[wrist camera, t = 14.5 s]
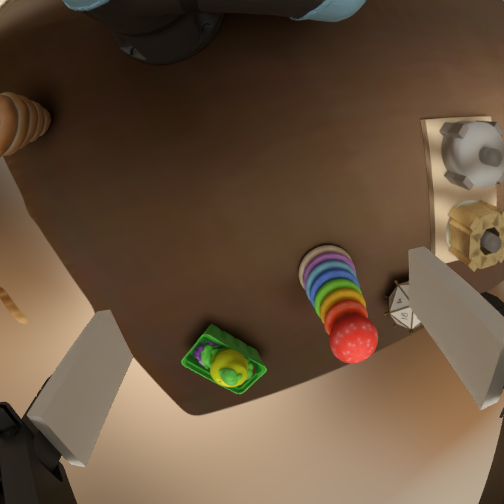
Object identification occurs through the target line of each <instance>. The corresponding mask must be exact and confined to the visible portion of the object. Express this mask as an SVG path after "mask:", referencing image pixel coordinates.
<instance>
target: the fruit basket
mask: <svg viewBox="0 0 504 504" xmlns="http://www.w3.org/2000/svg"><path fill="white" fill-rule="evenodd" d="M182 364H183V365H184V366H185V367H187V368H189V369H190V370H192V371H194V372H196V373H198V374H200V375H201V376H204V377H205V378H207V379H209V380H211V381H213V382H215V383H217V384H219V385H220V386H223V387H224V388H226V389H228V390H230V391H232V392H234V393H236V394H242V393H244V392H245V391H246V390H247V389H248V388H249V387H250V386H251V385H252V384H253V383H254V382H255V381H256V380H258V379H259V378H260V377H261V376H262V375H263V374H264V373H265V372H266V370H267V369H266V367H265V365H264V363H263V362H262V360H261V358H260V356H259V354H258V351H257V350H256V349H254V348H253V347H251V346H247V345H246V344H245V343H244V342H242V341H240V340H239V339H236V338H234V337H233V336H232V335H230V334H228V333H227V332H225V331H221V330H220V328H218V327H217V326H215V325H213V324H211V325H210V326H209V327H208V328H207V330H206V331H205V332H204V333H203V334H202V335H201V337H200V338H199V339H198V341H197V342H196V343H195V344H194V346H193V347H192V348H191V349H190V350H189V352H188V353H187V354H186V355H185V357H184V358H183V359H182Z"/></svg>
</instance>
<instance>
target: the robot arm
mask: <svg viewBox="0 0 504 504" xmlns="http://www.w3.org/2000/svg"><path fill="white" fill-rule="evenodd" d="M62 1H63V2H64V3H65V4H66V6H67V7H68V8H70V9H72V10H76V11H77V10H78V11H80V12H82V13H83V14H85V15H87V16H89V17H91V18H93V19H94V20H96V21H98V22H100V23H101V24H103V25H105V26H107V27H108V28H110V31H111V34H112V37H113V39H114V41H115V43H116V44H117V46H118V47H119V48H120V49H121V50H122V51H123V52H124V53H125V54H127V55H128V56H130V57H132V58H134V59H136V60H138V61H140V62H143V63H147V64H153V65H166V64H172V63H176V62H180V61H183V60H185V59H188V58H190V57H192V56H193V55H195V54H197V53H198V52H200V51H201V50H202V49H204V48H205V47H206V46H207V45H208V44H209V43H210V42H211V41H212V40H213V39H214V37H215V36H216V35H217V33H218V31H219V29H220V28H221V25H222V22H223V19H224V14H225V13H240V14H260V15H273V16H283V17H290V19H292V20H298V21H299V20H305V19H309V20H318V21H326V22H338V21H340V20H343V19H347V18H349V17H350V16H352V15H353V14H354V13H356V12H357V11H358V10H359V9H360V8H361V6H362V5H363V4H364V3H365V1H366V0H62ZM409 307H410V308H411V309H412V311H413V312H414V313H415V315H416V316H417V317H418V319H419V320H420V322H421V323H422V324H423V326H424V327H425V328H426V330H427V331H428V333H429V334H430V335H431V337H432V338H433V339H434V341H435V342H436V344H437V345H438V347H439V348H440V349H441V351H442V352H443V354H444V355H445V356H446V358H447V360H448V361H449V363H450V364H451V365H452V367H453V368H454V370H455V371H456V373H457V374H458V376H459V377H460V379H461V380H462V382H463V384H464V385H465V387H466V388H467V390H468V391H469V393H470V394H471V396H472V398H473V399H474V401H475V402H476V404H477V406H478V407H479V409H480V410H482V409H484V408H486V407H488V406H490V405H492V404H494V403H496V402H498V401H499V399H500V396H501V394H502V391H503V389H504V303H503V302H502V301H501V300H500V299H499V298H498V297H496V296H494V295H492V294H489V293H487V292H484V293H481V294H479V293H478V292H477V291H476V290H475V289H474V288H472V287H471V286H470V285H469V284H468V283H467V282H466V281H465V280H463V279H462V278H461V277H460V276H459V275H458V274H457V273H455V272H454V271H453V270H452V269H451V268H450V267H448V266H447V265H446V264H445V263H444V262H443V261H441V260H440V259H439V258H438V257H437V256H435V255H434V254H433V253H432V252H430V251H429V250H428V249H427V248H426V247H424V246H423V247H419V248H414V249H410V250H409ZM132 359H133V355H132V354H131V352H130V350H129V348H128V346H127V344H126V342H125V340H124V338H123V336H122V334H121V332H120V330H119V328H118V325H117V323H116V321H115V319H114V317H113V315H112V313H111V310H105V311H98V312H96V314H95V315H94V316H93V318H92V319H91V321H90V322H89V323H88V324H87V326H86V327H85V329H84V330H83V332H82V333H81V334H80V336H79V337H78V338H77V340H76V341H75V343H74V344H73V345H72V347H71V348H70V350H69V351H68V352H67V354H66V355H65V357H64V358H63V360H62V361H61V363H60V364H59V366H58V367H57V368H56V370H55V372H54V373H53V374H52V375H51V376H50V377H49V378H48V379H47V380H46V381H45V383H44V384H43V386H42V388H41V390H40V391H39V392H38V394H37V397H35V398H34V400H33V402H32V403H31V405H30V406H29V408H28V410H27V411H26V413H25V414H24V416H23V417H22V419H20V417H19V416H18V415H17V413H16V412H15V411H14V409H13V408H12V407H11V406H10V404H9V403H7V402H0V504H77V502H76V499H75V497H74V494H73V492H72V489H71V486H70V483H69V481H68V478H67V475H66V472H65V469H64V467H63V465H62V464H61V463H60V462H59V460H60V458H61V455H62V456H63V457H64V458H65V459H66V460H67V461H68V462H69V463H70V464H71V465H77V466H82V467H86V466H87V463H88V460H89V458H90V456H91V453H92V451H93V448H94V446H95V444H96V441H97V438H98V436H99V434H100V431H101V429H102V426H103V424H104V422H105V419H106V417H107V415H108V412H109V410H110V408H111V405H112V403H113V401H114V399H115V396H116V394H117V392H118V390H119V387H120V385H121V383H122V380H123V378H124V376H125V374H126V372H127V370H128V367H129V365H130V363H131V361H132ZM503 415H504V408H503V411H502V412H501V415H500V418H502V417H503V421H502V426H501V431H500V435H499V439H498V443H497V447H496V451H495V455H494V458H493V462H492V465H491V469H490V472H489V475H488V478H487V481H486V484H485V487H484V490H483V493H482V496H481V498H480V501H479V504H504V416H503Z"/></svg>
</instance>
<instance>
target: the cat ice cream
mask: <svg viewBox="0 0 504 504" xmlns="http://www.w3.org/2000/svg"><path fill="white" fill-rule="evenodd" d="M50 123H51V115H50V114H49V112H48V110H47V109H45V108H44V107H41V105H40V104H39V103H37V102H35V101H32V100H29V99H28V98H26V97H25V96H22V95H17V94H14V93H12V92H4V93H1V94H0V157H1V156H2V155H3V156H8V155H12V154H13V153H15V152H16V151H17V150H18V149H21V148H23V147H25V146H26V145H27V144H28V143H29V142H33V141H35V140H36V139H37V138H38V137H39V136H42V135H43V134H44V133H45V132H46V131H47V130H48V128H49V126H50Z"/></svg>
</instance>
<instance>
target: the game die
mask: <svg viewBox="0 0 504 504" xmlns="http://www.w3.org/2000/svg"><path fill="white" fill-rule="evenodd" d="M408 278H409V277H408ZM395 284H396V285H397V286H396V287H395V289H394V290H393V292H392V293H391V295H390V296H388V295H386V296H385V298H387V299H389V312H385V314H384V315H385V316H388V315H390V316H391V317H392V319H393V320H394V321H395V322H396V323H395V324H394V327H396V326H397V324H398V325H400V326H402V327H405V328H407V329H409V330H410V333H409V334H410V335H412V334H413V331H412V330H413V329H415V328H416V327H418V326H420V325H421V324H422V323H421V322H420V320H419V319H418V317H417V316H416V315H415V313H414V312H413V311H412V309H411V308H410V307H409V281H406V282H403V283H400V284H398V281H396V280H395ZM422 325H423V324H422Z"/></svg>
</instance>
